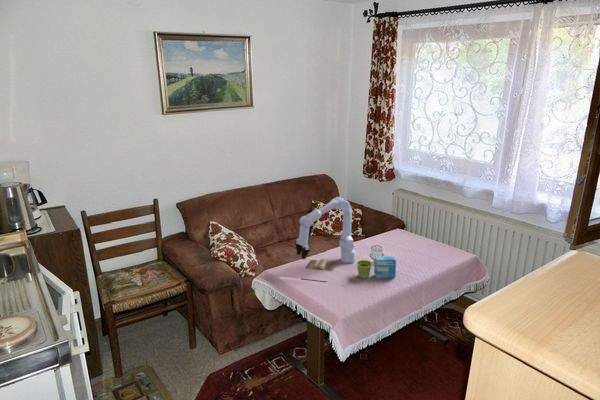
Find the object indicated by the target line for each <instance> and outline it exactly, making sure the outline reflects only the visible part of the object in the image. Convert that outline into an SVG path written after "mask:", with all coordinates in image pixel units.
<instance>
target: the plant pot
mask: <svg viewBox="0 0 600 400" xmlns="http://www.w3.org/2000/svg"><path fill="white" fill-rule="evenodd" d="M355 262H356V263H355V265H356V266H357V273H358V277H359V278H360V279H369V278H370V273H371V268H372V265H373V263H372V261H370V260H367V259H361V260H357V261H355Z"/></svg>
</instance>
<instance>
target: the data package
mask: <svg viewBox="0 0 600 400" xmlns="http://www.w3.org/2000/svg"><path fill="white" fill-rule="evenodd" d="M373 261H374V262H373V263H374V264H373V265H374V268H373V269H374V270H373V271H374V272H373V273H374V276H375V278H377V279H393V278H396V276H397V275H396V274H397V273H396V272H397V271H396V270H397V261H396V258H395V257H394V256H375V258H374V260H373Z"/></svg>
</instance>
